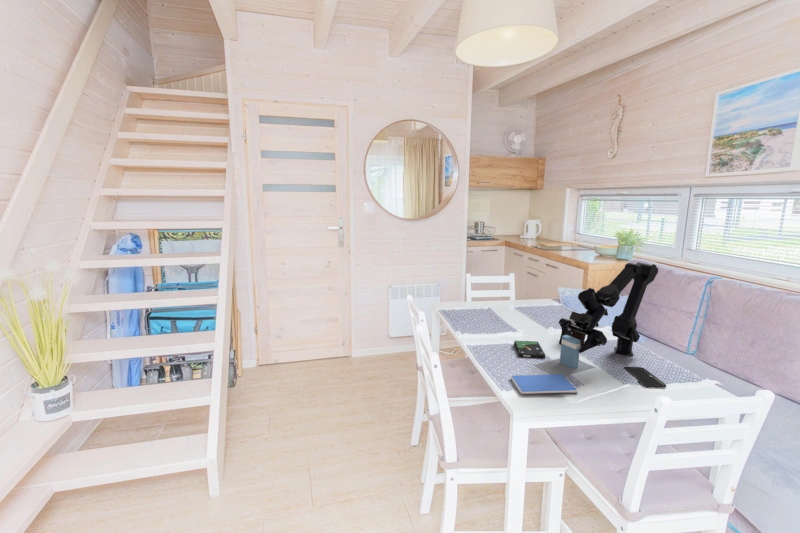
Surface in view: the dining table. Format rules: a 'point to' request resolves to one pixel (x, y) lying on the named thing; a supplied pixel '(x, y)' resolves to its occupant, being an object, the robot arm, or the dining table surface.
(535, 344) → the disk drive
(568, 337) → the box
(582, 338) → the coffee mug
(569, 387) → the tablet computer
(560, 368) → the mat
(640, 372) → the phone
